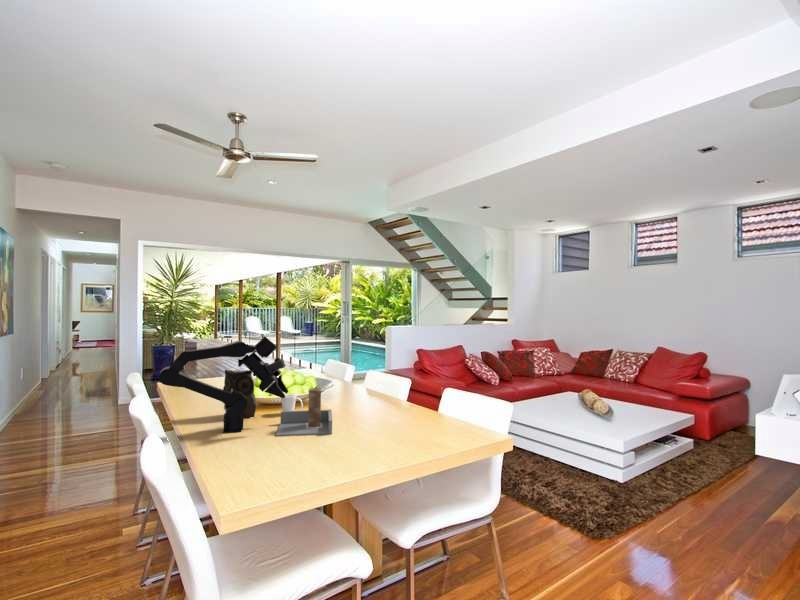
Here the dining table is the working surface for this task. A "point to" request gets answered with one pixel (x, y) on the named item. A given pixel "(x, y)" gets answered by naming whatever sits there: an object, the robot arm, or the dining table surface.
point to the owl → (242, 388)
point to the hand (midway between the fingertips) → (286, 394)
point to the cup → (290, 402)
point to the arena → (303, 423)
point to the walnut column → (314, 407)
